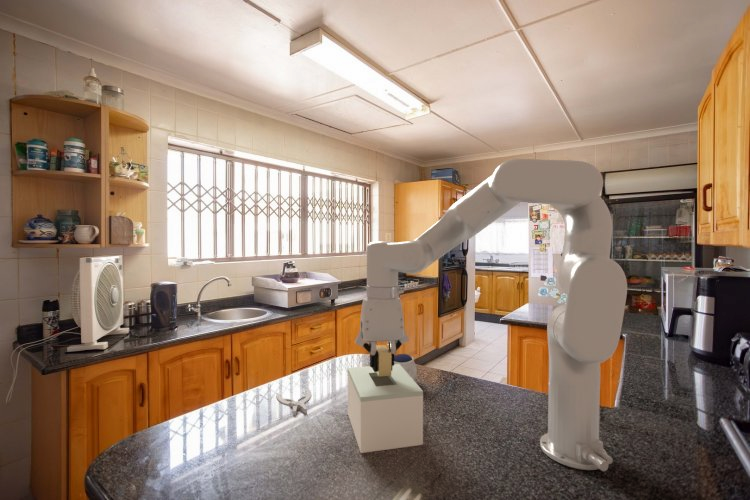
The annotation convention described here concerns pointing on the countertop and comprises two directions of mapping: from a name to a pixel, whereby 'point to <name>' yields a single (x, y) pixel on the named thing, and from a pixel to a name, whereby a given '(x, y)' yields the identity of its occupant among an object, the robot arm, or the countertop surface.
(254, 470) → the countertop surface
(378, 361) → the block
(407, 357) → the toy
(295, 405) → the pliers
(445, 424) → the countertop surface
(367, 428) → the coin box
